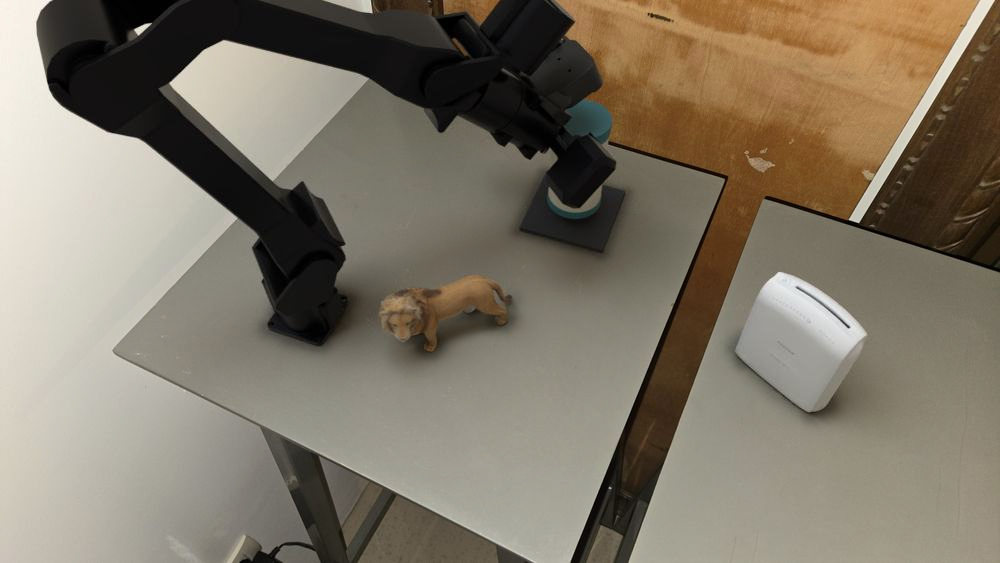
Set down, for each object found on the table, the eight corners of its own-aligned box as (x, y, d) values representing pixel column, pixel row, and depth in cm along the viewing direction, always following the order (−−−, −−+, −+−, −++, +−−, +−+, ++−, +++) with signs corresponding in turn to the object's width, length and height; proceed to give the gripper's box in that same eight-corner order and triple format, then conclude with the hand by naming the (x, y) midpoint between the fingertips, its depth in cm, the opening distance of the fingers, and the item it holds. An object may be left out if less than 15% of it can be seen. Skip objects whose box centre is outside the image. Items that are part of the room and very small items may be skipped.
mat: (519, 230, 88) (519, 227, 87) (546, 173, 93) (546, 170, 93) (602, 253, 85) (602, 250, 85) (625, 194, 91) (625, 190, 91)
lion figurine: (401, 380, 75) (390, 329, 68) (377, 342, 78) (365, 290, 71) (524, 315, 80) (526, 261, 73) (497, 281, 83) (496, 227, 76)
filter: (571, 227, 85) (579, 146, 75) (536, 196, 88) (540, 114, 78) (611, 202, 87) (624, 121, 78) (576, 173, 90) (585, 91, 81)
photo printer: (726, 351, 77) (757, 277, 67) (753, 329, 79) (787, 253, 69) (809, 422, 72) (856, 352, 62) (836, 396, 74) (886, 325, 64)
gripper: (609, 91, 63) (692, 149, 75) (507, -17, 73) (594, 49, 85) (524, 189, 67) (615, 230, 79) (438, 73, 77) (530, 125, 89)
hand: (588, 153), depth 83 cm, fingers closed on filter, 6 cm apart
